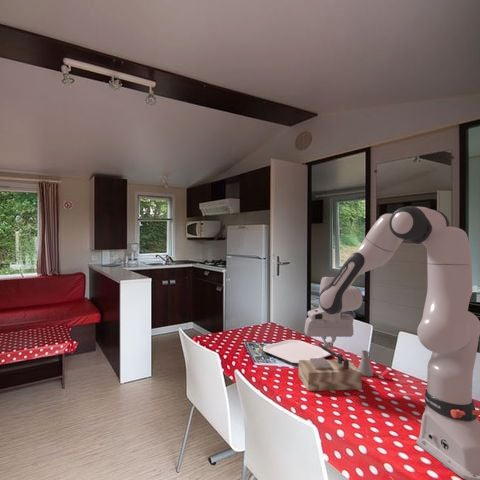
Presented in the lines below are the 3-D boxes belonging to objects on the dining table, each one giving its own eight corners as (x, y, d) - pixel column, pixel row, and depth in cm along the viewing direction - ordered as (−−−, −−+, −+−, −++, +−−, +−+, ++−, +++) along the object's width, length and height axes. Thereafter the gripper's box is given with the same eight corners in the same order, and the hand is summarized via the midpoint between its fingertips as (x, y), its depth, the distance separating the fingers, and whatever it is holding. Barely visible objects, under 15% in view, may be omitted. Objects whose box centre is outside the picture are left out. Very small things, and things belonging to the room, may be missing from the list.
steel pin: (329, 383, 129) (330, 364, 129) (314, 384, 128) (315, 364, 128) (323, 376, 135) (324, 358, 135) (309, 377, 134) (309, 358, 134)
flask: (375, 378, 138) (375, 355, 138) (357, 376, 139) (358, 353, 139) (371, 371, 145) (372, 349, 145) (355, 369, 146) (355, 348, 146)
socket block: (347, 375, 139) (347, 351, 140) (361, 389, 127) (362, 363, 127) (298, 376, 137) (299, 352, 137) (307, 390, 124) (308, 363, 124)
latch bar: (340, 358, 134) (341, 356, 135) (344, 362, 130) (345, 360, 131) (318, 345, 133) (319, 343, 134) (321, 348, 129) (322, 346, 130)
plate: (299, 370, 145) (299, 365, 145) (257, 351, 167) (257, 347, 167) (336, 356, 163) (336, 352, 163) (293, 341, 186) (293, 338, 186)
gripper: (350, 312, 136) (348, 344, 136) (303, 311, 134) (302, 344, 134) (357, 315, 130) (355, 349, 130) (308, 315, 128) (307, 349, 128)
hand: (328, 346), depth 132 cm, fingers closed
